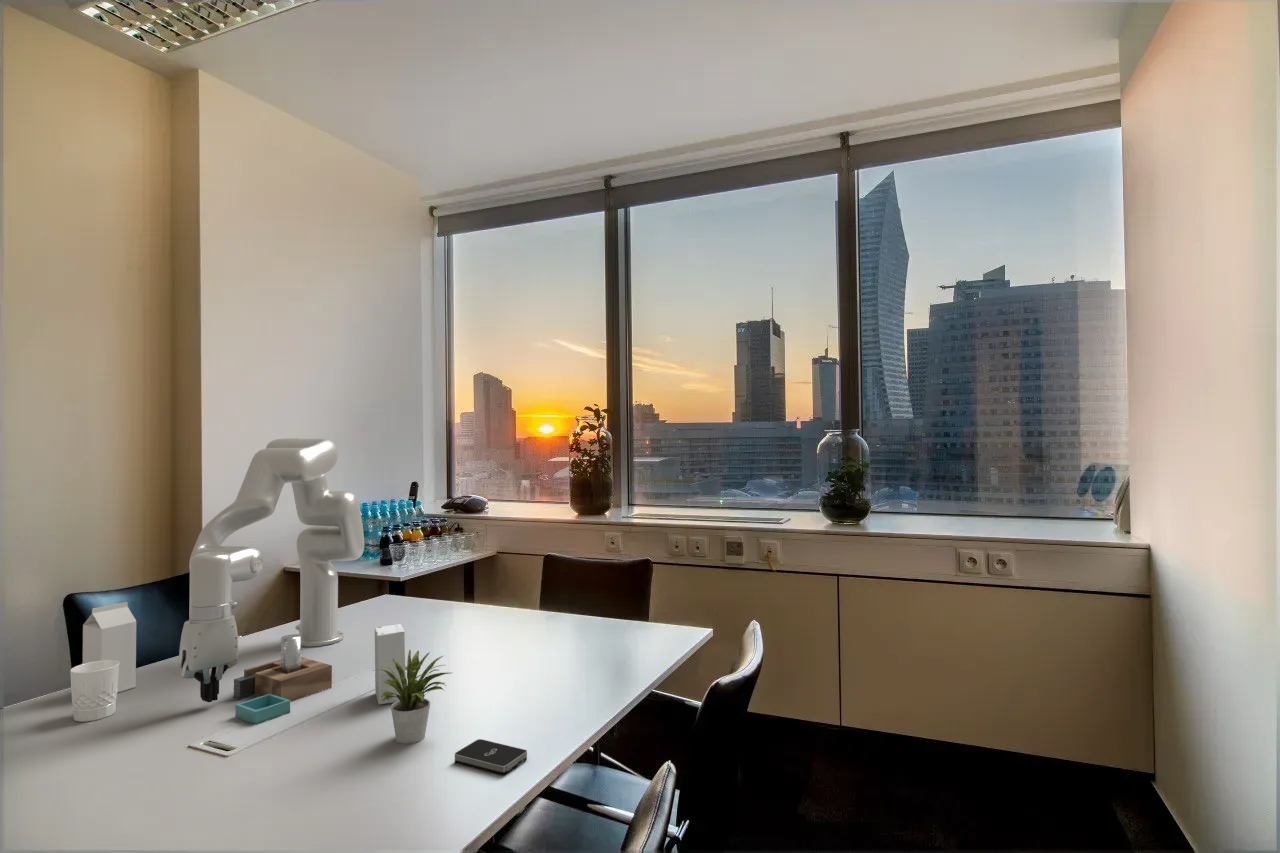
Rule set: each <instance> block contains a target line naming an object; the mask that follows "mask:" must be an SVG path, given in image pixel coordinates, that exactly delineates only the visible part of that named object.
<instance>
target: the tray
mask: <svg viewBox="0 0 1280 853" xmlns="http://www.w3.org/2000/svg"><path fill="white" fill-rule="evenodd" d="M234 709H235V710H234V711H235V712H234V714H235V715H234V716H235V718H236V717H237V718H236V719H239V720H241V719H242V721H244V722H247V723H249V722H250V724H252V723H253V725H255V724H256V725H258V723H259V724H262V723H265V722H267V721H266V720H268V721H270V720H273V719H277V718H279V717H282V716H284V715H283V714H285V715H286V713H287V714H290V713H291V702H290V700H288V699H285V698H282V697H279V696H276V695H273V694H267V695H264V696H261V697H255V698H252V699H249V700H246V701H242V702H240V703H236V704H235V708H234ZM289 712H290V713H289ZM281 715H282V716H281ZM278 716H279V717H278ZM272 718H273V719H272ZM269 719H270V720H269ZM264 721H265V722H264ZM261 722H262V723H261Z"/></svg>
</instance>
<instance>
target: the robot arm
mask: <svg viewBox="0 0 1280 853" xmlns="http://www.w3.org/2000/svg"><path fill="white" fill-rule="evenodd" d="M338 457H339V450H338V447H337V445H336V444H335V442H333V441H332V440H330V439H327V438H298V437H297V438H293V437H290V438H276V439H274V440H271V441H269V442H268V443H267V445H266V447H265V448H263V449H259V451H257V452H256V453H254V455H253V457H252V458H251V461H250V463H249V465H248V468H247V471H246V473H245V476H244V478H243V481H242V483H241V485H240V488H239V491H238V493H237V496H236V498H235V500H234V501H233V502H232V503H231V504H230V505H228V506H226V507H225V508H224V509H223V510H220V512H218V514H216V515H215V516H214V517H213V518H212V519H211V520H209V521H208V522H207V523H206V524H205V525H204V527H203V528H202V530H201V531H200V533H199V535H198V537H197V538H196V542H195V544H194V546H193V548H192V551H191V554H190V558H189V566H188V568H189V602H188V603H189V613H188V615H189V619H188V620H186V621H185V622H184V624H183V626H182V627H183V628H182V632H181V635H180V636H181V637H180V641H179V650H178V653H179V654H178V667H179V668H180V669H182V670H181V674H180V677H181V678H183V679H187V680H188V679H195V680H197V682H198V683H199V682H200V683H199V689H200V690H199V691H200V693H199V696H200V698H201V700H202V701H203V702H205V703H212V702H215V701H218V697H219V696H218V695H220V681H221V680H222V678H223V676H224V674H225V673H226V671H227V670H228V669H231V668H233V667H235V666H237V664H238V660H237V659H238V656H239V634H238V627H237V622H236V618H235V615H234V614H233V609H236V608H237V607H238V603H237V602H236V601H233V600H232V585H233V583H235V582H237V583H238V582H246V581H250V580H252V579H254V578H255V577H256V576H258V575H259V574H260V573H261V571H262V570H263V566H264V562H265V561H264V556H263V554H262V553H261V551H260V550H258V549H257V548H255V547H252V546H243V545H242V546H238V545H237V546H235V545H234V546H233V545H222V544H223V543H224V542H225V541H226V539H227V538H229V536H230V535H232V534H234V533H235V532H238V531H239V530H241V529H242V528H245V527H248V526H249V525H252V524H255V523H257V522H260V521H262V520H265V519H266V518H269V517H270V516H272V515H273V513H274V512H275V510H276V507H277V504H278V501H279V498H280V496H281V493H282V490H283V488H284V485H285V484H286V483H288V484H289V483H291V487H292V491H293V492H292V494H293V497H294V504H295V508H296V514H297V518H298V519H299V522H300V523H301V524H303V525H306V526H310V527H307V528H305V529H303V530H302V531H300V533H299V534H298V536H297V539H296V550H297V556H298V561H299V562H298V563H299V571H300V572H299V573H300V574H299V575H300V578H299V580H300V591H299V592H300V597H299V598H300V604H299V605H300V606H299V608H300V610H299V612H300V614H299V615H300V616H299V617H300V619H299V620H300V621H299V624H297V625H295V626H294V627H295V630H297V631H298V634H299V635H301V647H307V648H310V647H320V646H327V645H332V644H335V643H338V642H341V641H342V640H343V639H344V637H345V636H344V633H343V632H342V631H340V630H339V628H338V627H339V626H338V623H339V622H338V616H339V615H338V612H339V610H338V609H339V606H338V605H339V600H338V599H339V575H338V572H337V569H336V568H335V566H334V565H333V563H332V562H352V561H356V560H358V559H360V558H361V557H362V556H363V553H364V551H365V537H364V536H365V534H364V527H363V520H362V514H361V508H360V502H359V500H358V498H357V496H356V495H355V494H354V493H353V492H351V491H347V490H332V489H329V487H328V482H327V478H326V474H327V473H329V472H330V471H331V470H333V468H334V467H335V466H336V463H337V461H338Z"/></svg>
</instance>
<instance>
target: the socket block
mask: <svg viewBox="0 0 1280 853" xmlns="http://www.w3.org/2000/svg"><path fill="white" fill-rule="evenodd" d="M253 673H255V695H254V697H256V696H257V697H256V698H258V697H261V696H264V695H267V694H273V695H276V696H279V697H282V698H285V699H288V700H290V701H291V702H294V701H297V700H299V698H300V699H302V697H303V698H305V696H306V697H308V696H307V695H309V696H312V695H315V694H317V693H320V692H322V690H323V691H326V690H329V689H331V687H332V688H333V685H332V684H333V681H332V680H333V665H332V664H328V663H324V662H321V661H317V660H314V659H310V658H307V657H302V656H301V670H298V671H295V672H292V673H288V674H285V673H281V658H280V659H278V660H274V661H271V662H270V661H269V662H267V663H262V664H259V665H256V666H253V667H249V668H248V667H247V668H245V669H244V670H243V676H246V675H250V674H253ZM328 688H329V689H328ZM325 689H326V690H325ZM319 691H320V692H319ZM316 692H317V693H316ZM296 699H297V700H296ZM293 700H294V701H293Z"/></svg>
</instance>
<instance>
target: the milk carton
mask: <svg viewBox="0 0 1280 853" xmlns="http://www.w3.org/2000/svg"><path fill="white" fill-rule="evenodd" d="M103 660H115V661H118V662H119V677H118V689H117V693H120V692H124V691H127V690H130V689H134V688H135V687H136V686H137V684H136V683H137V682H136V681H137V677H136V675H137V672H136V671H137V663H136V662H137V620H136V618H135V616H134V615H133V613H132V612H131V610H130V608H129V606H128V601H124V602H120V603H114V604H109V605H104V606H99V607H94V608H91V614H90V615H89V616H88V618H87V619H86V621H85V622H84V623H83V624H82V664H85V663H89V662H95V661H103Z"/></svg>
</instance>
